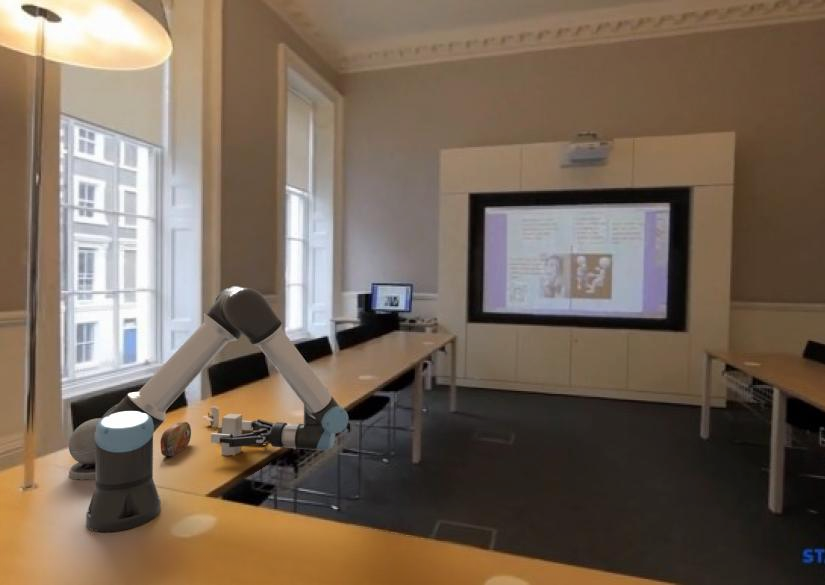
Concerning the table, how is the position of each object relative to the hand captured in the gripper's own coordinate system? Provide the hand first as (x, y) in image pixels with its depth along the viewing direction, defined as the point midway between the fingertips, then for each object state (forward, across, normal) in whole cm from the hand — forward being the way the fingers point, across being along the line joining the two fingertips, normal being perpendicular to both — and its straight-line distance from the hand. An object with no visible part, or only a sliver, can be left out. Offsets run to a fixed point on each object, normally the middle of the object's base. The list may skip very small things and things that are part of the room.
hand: (222, 430), depth 155 cm
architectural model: (+17, +24, -8) cm, 30 cm away
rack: (-2, +12, -7) cm, 14 cm away
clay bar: (-3, 0, -7) cm, 8 cm away
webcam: (+28, -20, -7) cm, 35 cm away
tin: (+15, -2, -7) cm, 17 cm away
